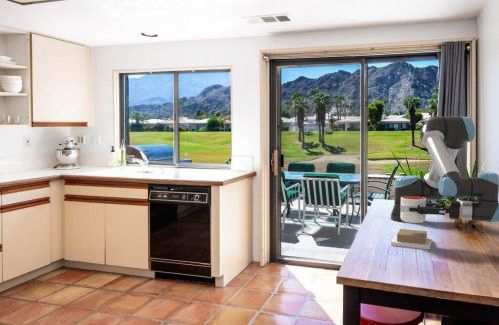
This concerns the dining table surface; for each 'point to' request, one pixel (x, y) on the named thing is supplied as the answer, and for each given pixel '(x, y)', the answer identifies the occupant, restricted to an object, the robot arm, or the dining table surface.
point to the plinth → (413, 245)
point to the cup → (413, 202)
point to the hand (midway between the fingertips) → (402, 206)
